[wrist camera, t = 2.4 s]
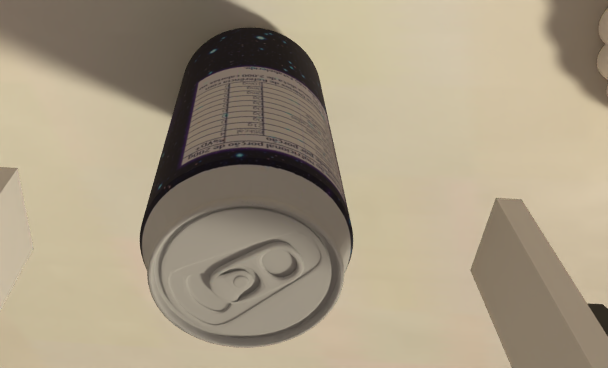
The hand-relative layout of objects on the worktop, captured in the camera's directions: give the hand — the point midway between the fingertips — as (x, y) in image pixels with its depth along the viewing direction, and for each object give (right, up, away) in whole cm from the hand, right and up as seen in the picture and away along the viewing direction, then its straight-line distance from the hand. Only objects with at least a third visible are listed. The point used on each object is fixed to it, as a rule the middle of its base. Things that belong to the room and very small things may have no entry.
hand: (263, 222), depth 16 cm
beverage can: (-1, +5, +8) cm, 10 cm away
